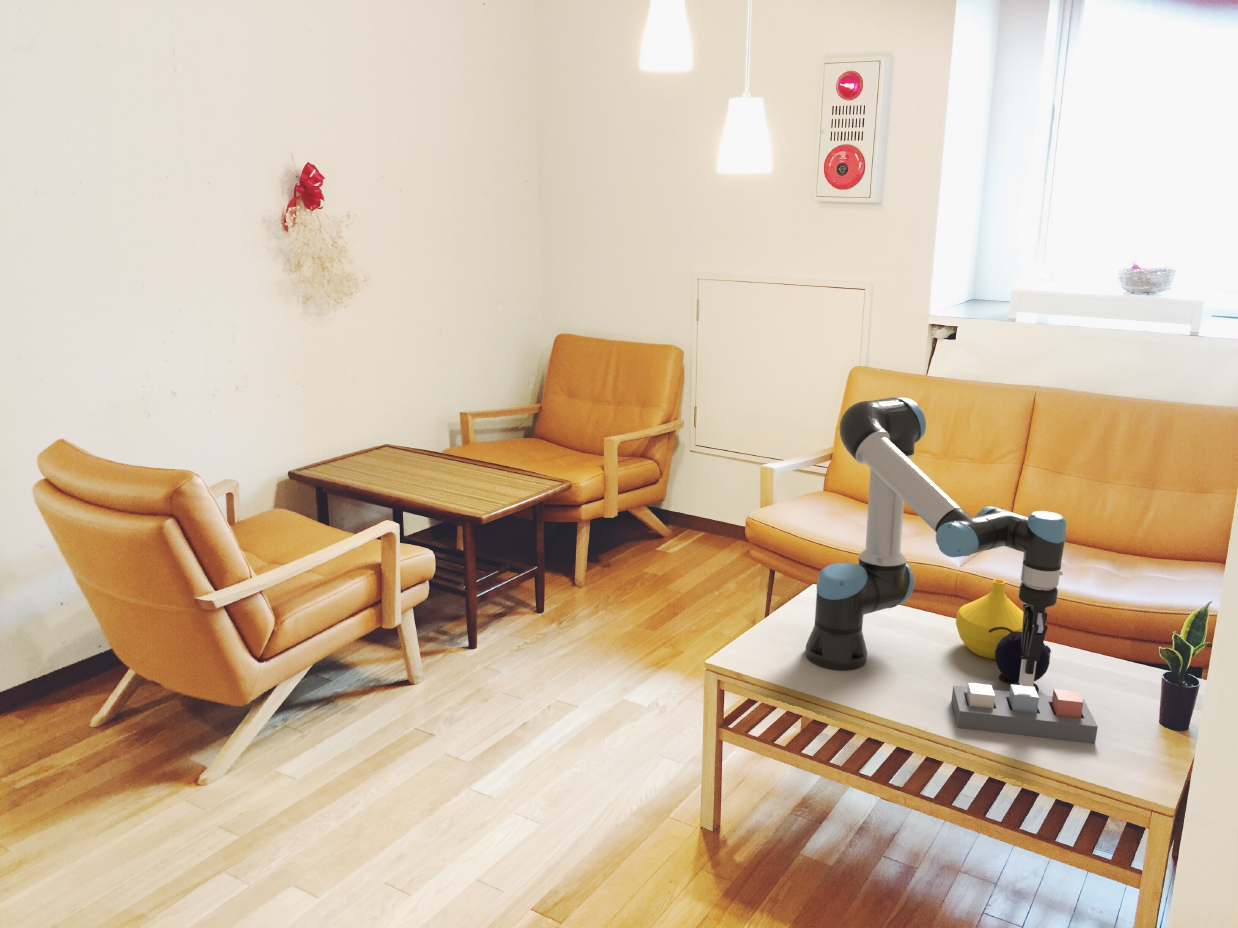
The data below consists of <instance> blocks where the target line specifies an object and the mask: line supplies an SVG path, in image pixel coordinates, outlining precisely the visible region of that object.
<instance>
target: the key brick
mask: <svg viewBox="0 0 1238 928" xmlns="http://www.w3.org/2000/svg"><path fill="white" fill-rule="evenodd" d="M1052 691H1053V692H1052V696H1053V697H1052V704H1051V705H1052V707H1053V710H1054V712H1055V714H1056V716H1065V717H1074V718H1081V715H1082V708H1083V701H1082V699H1083V698H1082V697H1081V695H1080V693H1079V691H1078V690H1067V689H1059V688H1053V690H1052Z"/></svg>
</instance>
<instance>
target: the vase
mask: <svg viewBox="0 0 1238 928" xmlns="http://www.w3.org/2000/svg"><path fill="white" fill-rule="evenodd" d="M1005 588H1006V581H1005V580H1003V579H999V578H994V579H992V587H991V591H990V592H989V593H988V594H985V595H984V596H982V597H979V598H977V599H975V600H973V601H971V602H969V603H966V604H963V605H962V606H961V607H960V608H959V609H958V611H957V613H956V616H955V626H956V628H957V632H958V635H959V638H960V640H961V641H962V642H963V644H964V645H965V646H966V647H967V648H968V649H969V650H970V651H971V652H973V653H974V654H975V655H977V656H980V657H983V658H986V659H991V660H995V650H996V647H997V645H998V643H999V642H1000V640H1001V639H1002V638H1003V637H1005V636H1006V635H1008V634H1009V633H1010V632H1009V631H1007V630H1003V629H999V630H995V631H992V632H991V633H989V630H990V629H992V628H995V627H1007V628H1009V629H1011V630H1012V631H1013V632H1014V631H1018V632H1022V626H1023V609H1021V608H1020V607H1019V606H1017V605H1016V604H1015V603H1014V602H1013V601H1011V599H1010V598H1008V597H1007V595H1006V594H1005V590H1006V589H1005Z"/></svg>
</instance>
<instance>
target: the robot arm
mask: <svg viewBox="0 0 1238 928" xmlns="http://www.w3.org/2000/svg"><path fill="white" fill-rule="evenodd" d="M926 429H927V421H926V416H925V414H924V411H923V409H922V408H920V406H919V404H918V403H917V402H915V400H912V399H911V398H909V397H905V396H903V397H895V396H892V397H891V396H890V397H888V398H887V397H886V398H881V399H875V400H873V399H872V400H864V401H859V402H856V403H854V404H852V405H851V406H849V407H848V408H847V409H846V410H845V412H844V413H843V415H842V417H841V418H840V421H839V436H840V440H841V443H843V446H844V447H845V449H846V450H847V452H848V453H849V454H850V456H851V457H852V458H854V459H855V461H856V462H858V463H859V464H862V465H865V464H866V465H867V466H868V467H869V468H870V470H869V472H870V473H869V486H868V487H869V488H868V503H867V505H868V506H867V518H866V532H865V533H866V535H865V536H866V537H865V549H863V551H862V552H860V553H859V555H858V564H857V563H853V562H844V563H843V562H837V563H832V564H829V565H827V566H825V567H824V568H822V569H821V570H820V572H819V575H818V579H817V583H816V598H815V613H814V614H815V615H814V625H813V627H812V631H811V632H810V635H809V636H808V639H807V641H806V645H805V653H804V654H805V657H806V658H807V659H808V660H809V661H810V662H811V663H813V664H815V665H817V666H820V667H822V668H826V669H831V670H837V671H838V670H839V671H849V670H855V669H859V668H861V667H863V666H864V665H866V663H867V659H868V650H867V646H866V642H865V637H864V634H863V625H864V624H863V622H864V616H865V615H867V614H871V613H875V612H878V611H882V610H886V609H893V608H895V607H897V606H899V605H901V604H903V603H905V602H907V600H908V599H909V598H910V597H911V596H912V593H913V592H914V587H915V576H914V573H913V572H912V569H911V566H910V565H909V563H907V558H906V557H905V555H904V554H903V553H902V552H901V549H902V535H903V524H904V523H903V522H904V521H903V520H904V506H905V503H906V505H908V506H909V507H910V509H912V510H913V511H914V512H915V513H916V514H917V515H918V516H919V517H920V518H921V519H922V520H923V521H924V522H925V523H926V524H927V525H928V526H929V527H930V528H931V529H932V530H933V531H934V532H935V542H936V544H937V546H938V549H939V551H940V552H941V553H942V554H943V555H945V556H946V557H949V558H961V557H969V556H971V555H973V554H978V553H981V552H984V551H989V550H993V549H998V548H1001V547H1006V548H1008V549H1009V548H1010V549H1011V550H1012V549H1013V550H1015V551H1018V552H1022V553H1023V557H1022V558H1023V561H1022V566H1021V574H1020V580H1021V582H1020V583H1019V590H1018V591H1019V592H1018V599H1019V601H1021V602H1022V603H1023V604H1022V608H1023V609H1022V611H1023V626H1022V640H1021V648H1023V650H1022V654H1024V655H1021V659H1022V662H1021V669H1020V677H1019V683H1018V685H1021V686H1030V687H1033V684H1034V683H1035V681H1034V676H1035V669H1036V662H1037V661H1040V656H1041V652H1042V647H1043V643H1045V642H1044V641H1045V636H1046V634H1047V630H1048V629H1049V628H1048V625H1047V624H1046V621H1047V619H1048V612H1046V608H1049V607H1053V606H1055V605H1056V604H1057V600H1058V594H1059V588H1058V586H1059V583H1060V576H1063V573H1064V572H1063V570H1061V568H1062V561H1063V555H1064V548H1065V544H1066V543H1065V542H1066V540H1067V534H1066V533H1067V520H1066V518H1065V517H1064V516H1063V515H1061V514H1060V513H1057V512H1052V511H1051V512H1050V511H1046V510H1037V511H1032V512H1031V513H1029V515H1028V516H1025V515H1022V514H1019V513H1017V512H1012V511H1009V510H1007V509H1005V508H1003V507H996V506H992V505H991V506H989V505H988V506H985V507H983V508H982V509H981V510H980V511H978V512H977V513H976V514H975V516H970V514H969V513H967V512H966V511H965V510H964V509H963V508H962V507H961V506H960V505H959V504H958V503H957V502H956V501H954V500H953V499H952V498H951V496H949V495H948V494H947V493H946V492H945V491H944V490H943V488H940V487H939V486H938V484H936V483H935V482H934V481H933V480H932V479H931V478H930V477H929V476H928V475H927V474H926V473H925V472H924V471H923V470H922V469H921V468H920V467H919V466H918V465H916V464H915V462H913V461H912V460H911V459H910V458H912V457H913V456H914V455H915V444H917V442H919V441H920V440H921V439H922V438H923V437H924V435H925V433H926Z"/></svg>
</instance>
